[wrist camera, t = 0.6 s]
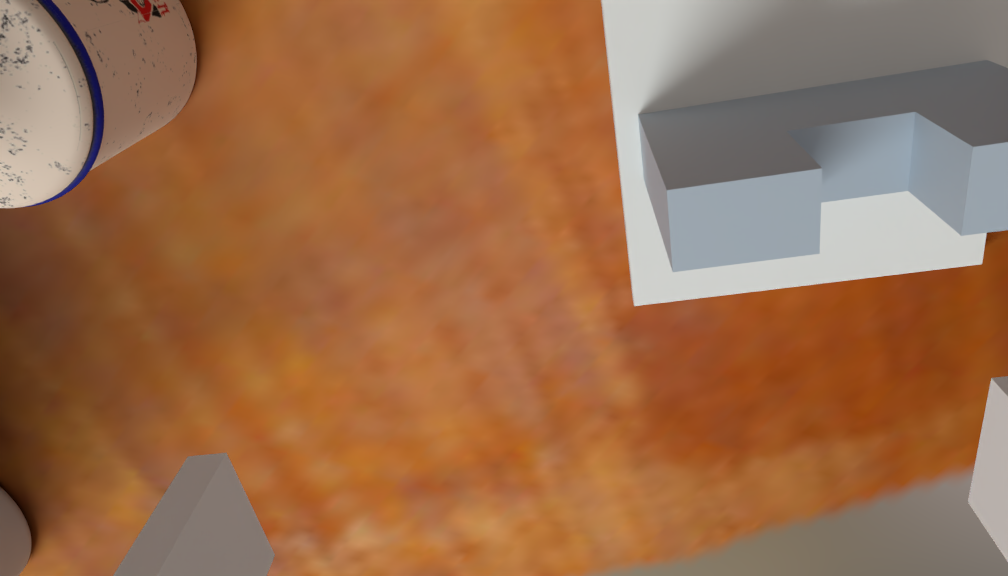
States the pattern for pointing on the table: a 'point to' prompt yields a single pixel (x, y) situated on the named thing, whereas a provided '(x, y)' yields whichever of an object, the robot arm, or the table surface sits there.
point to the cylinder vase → (13, 537)
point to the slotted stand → (805, 139)
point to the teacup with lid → (84, 87)
